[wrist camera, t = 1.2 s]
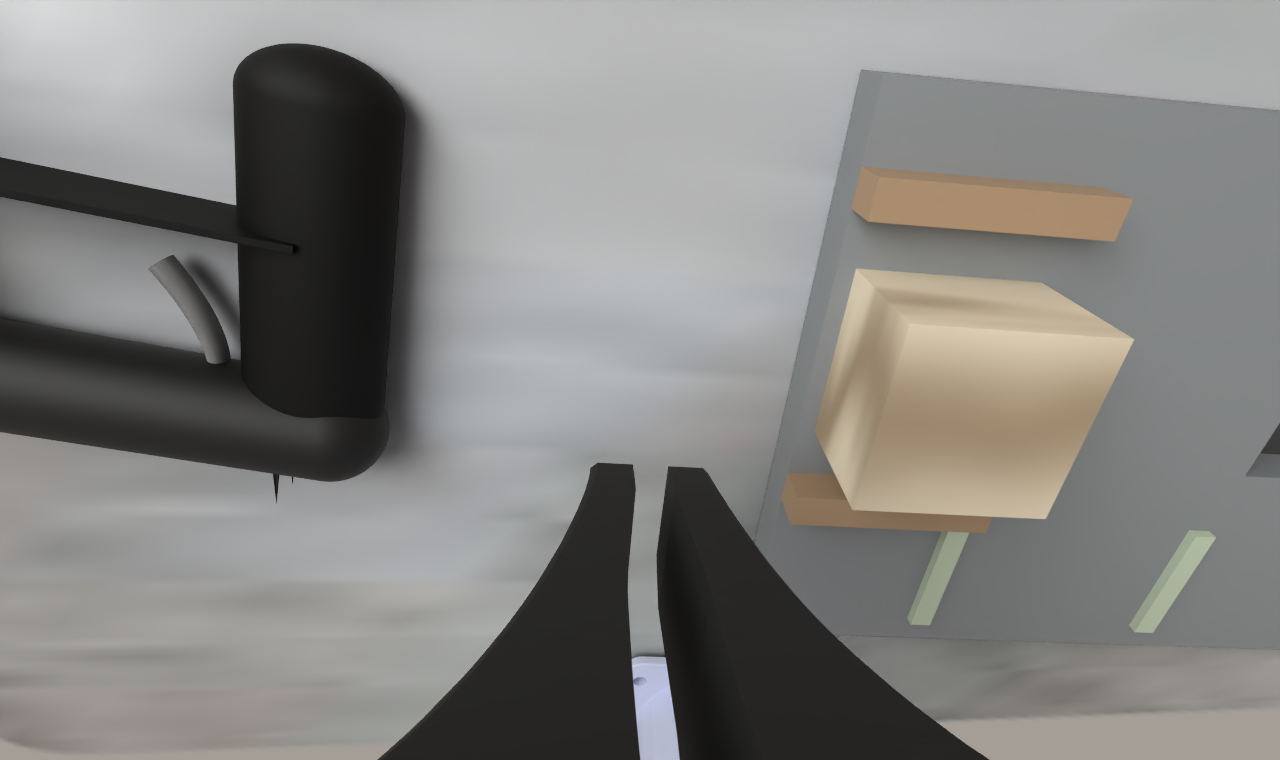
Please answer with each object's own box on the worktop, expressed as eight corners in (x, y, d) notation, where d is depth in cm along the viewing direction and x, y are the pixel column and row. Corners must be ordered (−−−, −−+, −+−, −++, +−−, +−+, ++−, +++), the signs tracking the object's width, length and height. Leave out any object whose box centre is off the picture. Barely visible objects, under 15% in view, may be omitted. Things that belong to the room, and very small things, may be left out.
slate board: (1308, 620, 26) (1377, 679, 24) (741, 599, 25) (755, 661, 22) (1692, 150, 18) (1859, 171, 15) (861, 69, 16) (904, 78, 14)
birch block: (977, 441, 20) (1045, 519, 16) (814, 431, 19) (852, 510, 16) (1041, 282, 17) (1134, 339, 14) (856, 268, 17) (910, 324, 14)
